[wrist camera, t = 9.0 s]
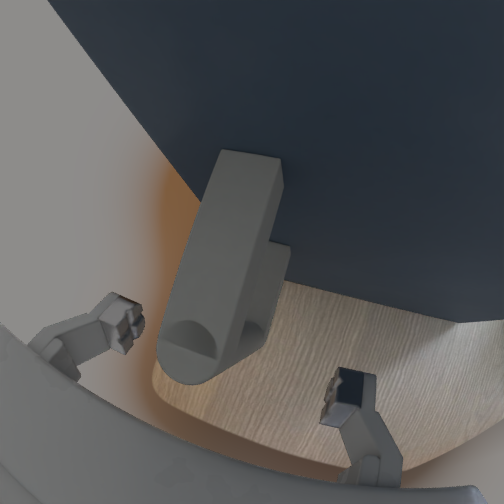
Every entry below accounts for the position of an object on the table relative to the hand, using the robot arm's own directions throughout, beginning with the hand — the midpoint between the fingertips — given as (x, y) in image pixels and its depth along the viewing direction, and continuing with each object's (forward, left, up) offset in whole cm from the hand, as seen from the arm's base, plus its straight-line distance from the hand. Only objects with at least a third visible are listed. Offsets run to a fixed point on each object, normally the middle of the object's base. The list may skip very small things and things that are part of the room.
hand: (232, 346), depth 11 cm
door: (-2, -8, -17) cm, 19 cm away
